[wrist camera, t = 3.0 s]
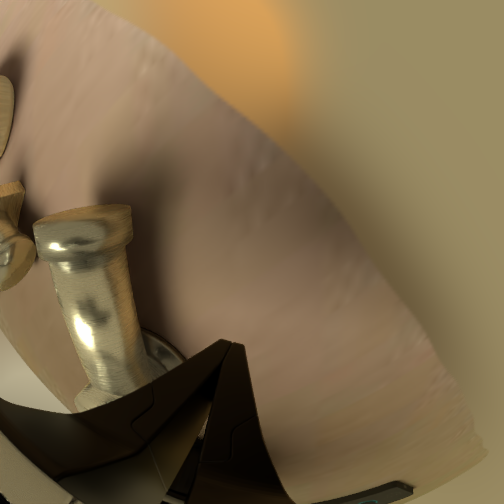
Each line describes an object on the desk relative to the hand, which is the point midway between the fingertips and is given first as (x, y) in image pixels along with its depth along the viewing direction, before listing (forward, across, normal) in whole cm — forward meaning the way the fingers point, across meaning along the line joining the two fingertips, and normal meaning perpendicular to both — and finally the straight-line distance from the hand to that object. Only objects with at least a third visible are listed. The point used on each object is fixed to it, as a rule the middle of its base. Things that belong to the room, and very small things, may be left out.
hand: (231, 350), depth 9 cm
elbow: (+5, +8, +5) cm, 11 cm away
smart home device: (+6, -19, +34) cm, 39 cm away
